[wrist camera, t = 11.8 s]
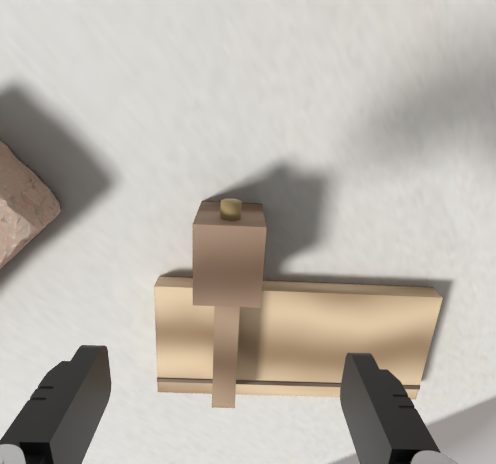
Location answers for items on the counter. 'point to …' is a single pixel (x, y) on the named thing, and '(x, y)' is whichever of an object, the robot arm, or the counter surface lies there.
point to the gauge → (227, 279)
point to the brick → (21, 205)
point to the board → (296, 336)
